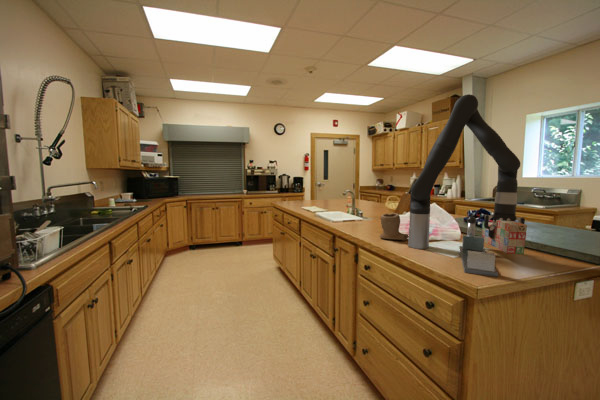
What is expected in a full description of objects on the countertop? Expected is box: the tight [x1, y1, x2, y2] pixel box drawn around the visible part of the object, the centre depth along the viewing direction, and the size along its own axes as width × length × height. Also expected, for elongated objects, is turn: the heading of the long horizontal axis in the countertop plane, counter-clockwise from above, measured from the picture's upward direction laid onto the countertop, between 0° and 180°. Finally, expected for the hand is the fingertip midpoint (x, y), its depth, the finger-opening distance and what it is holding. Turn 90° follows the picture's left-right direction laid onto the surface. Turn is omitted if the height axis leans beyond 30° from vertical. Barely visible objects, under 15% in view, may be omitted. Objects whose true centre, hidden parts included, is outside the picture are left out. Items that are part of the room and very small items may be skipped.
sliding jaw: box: [461, 216, 485, 251], centre depth 126 cm, size 8×15×14 cm, turn 151°
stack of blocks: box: [481, 219, 528, 255], centre depth 115 cm, size 21×6×12 cm, turn 170°
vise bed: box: [458, 245, 499, 278], centre depth 109 cm, size 10×36×8 cm, turn 151°
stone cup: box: [379, 212, 409, 241], centre depth 147 cm, size 15×12×15 cm
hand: (502, 239), depth 115 cm, fingers closed on stack of blocks, 7 cm apart
